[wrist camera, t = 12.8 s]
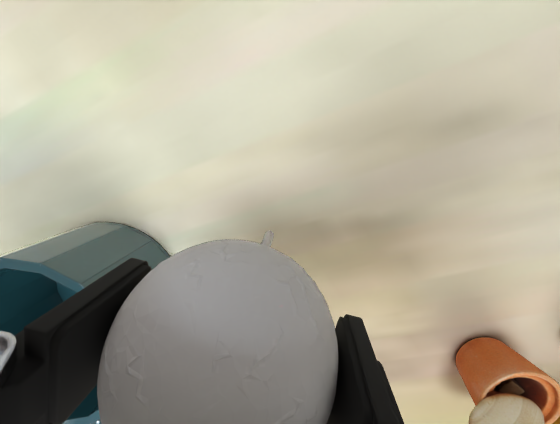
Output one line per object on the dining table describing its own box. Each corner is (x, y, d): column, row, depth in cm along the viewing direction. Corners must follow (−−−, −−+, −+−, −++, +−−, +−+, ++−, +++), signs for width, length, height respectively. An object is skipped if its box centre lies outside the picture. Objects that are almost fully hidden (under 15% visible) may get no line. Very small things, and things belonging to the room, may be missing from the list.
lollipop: (205, 233, 20) (-50, 460, 5) (268, 167, 18) (144, 241, 4) (270, 293, 21) (200, 630, 6) (336, 235, 19) (447, 508, 5)
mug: (29, 241, 24) (-99, 284, 16) (152, 205, 22) (73, 237, 15) (104, 382, 28) (28, 473, 20) (215, 362, 26) (179, 454, 18)
